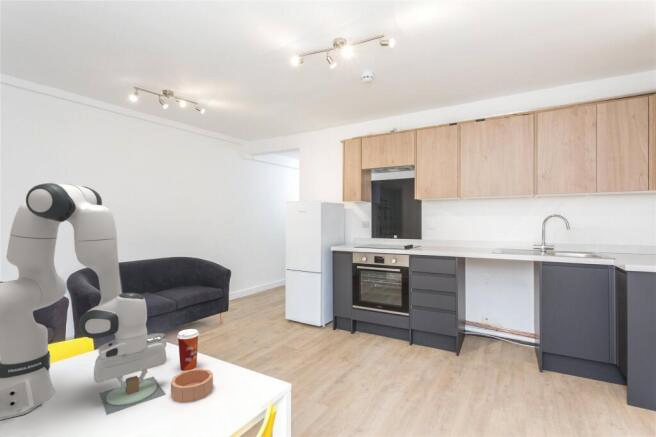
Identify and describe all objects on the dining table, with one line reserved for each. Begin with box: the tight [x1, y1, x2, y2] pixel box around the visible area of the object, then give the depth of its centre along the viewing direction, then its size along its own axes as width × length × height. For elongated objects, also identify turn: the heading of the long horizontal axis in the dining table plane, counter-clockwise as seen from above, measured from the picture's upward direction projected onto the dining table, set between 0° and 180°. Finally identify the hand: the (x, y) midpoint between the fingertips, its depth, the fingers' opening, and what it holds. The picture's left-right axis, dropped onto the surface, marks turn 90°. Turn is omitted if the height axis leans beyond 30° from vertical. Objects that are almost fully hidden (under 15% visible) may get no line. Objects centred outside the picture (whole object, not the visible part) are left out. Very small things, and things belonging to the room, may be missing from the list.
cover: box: [106, 375, 157, 406], centre depth 105 cm, size 14×14×5 cm
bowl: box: [170, 368, 214, 404], centre depth 106 cm, size 12×12×5 cm
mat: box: [99, 376, 167, 416], centre depth 105 cm, size 16×16×1 cm
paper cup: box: [176, 328, 200, 372], centre depth 123 cm, size 8×8×14 cm
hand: (132, 385), depth 105 cm, fingers closed on cover, 3 cm apart
